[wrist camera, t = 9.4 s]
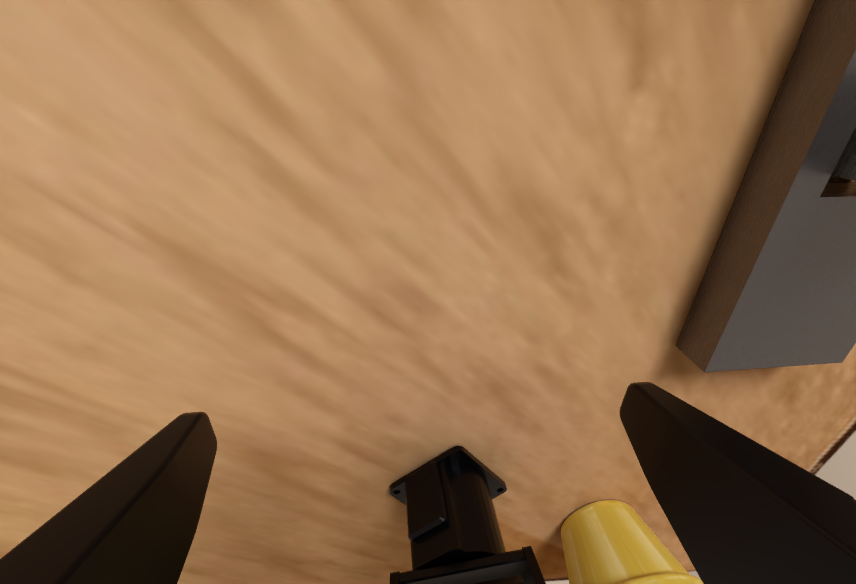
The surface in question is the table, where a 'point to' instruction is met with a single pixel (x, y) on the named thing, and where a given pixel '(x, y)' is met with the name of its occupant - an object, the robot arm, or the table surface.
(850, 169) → the grey-capped square peg
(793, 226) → the rack rail
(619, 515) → the plant pot
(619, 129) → the table surface
